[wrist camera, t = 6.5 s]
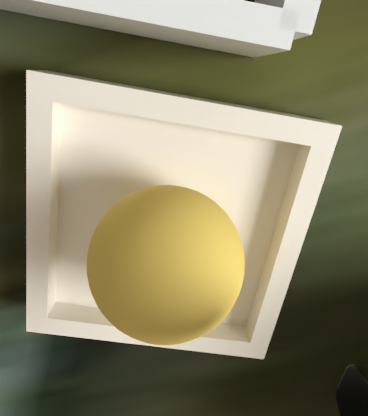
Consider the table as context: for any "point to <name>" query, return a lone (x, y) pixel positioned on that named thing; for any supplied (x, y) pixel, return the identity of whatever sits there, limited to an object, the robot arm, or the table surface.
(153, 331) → the ball
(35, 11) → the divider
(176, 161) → the tray
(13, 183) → the table surface
